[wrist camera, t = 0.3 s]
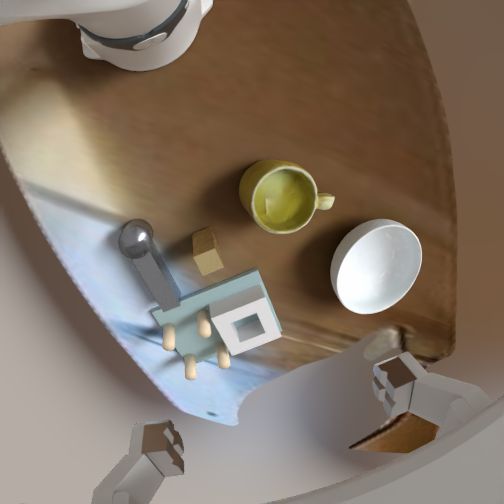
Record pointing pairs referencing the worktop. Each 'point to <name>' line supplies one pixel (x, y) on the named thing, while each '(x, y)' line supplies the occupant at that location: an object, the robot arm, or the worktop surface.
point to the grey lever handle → (149, 263)
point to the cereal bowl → (375, 265)
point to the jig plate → (201, 302)
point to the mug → (281, 196)
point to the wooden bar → (207, 251)
